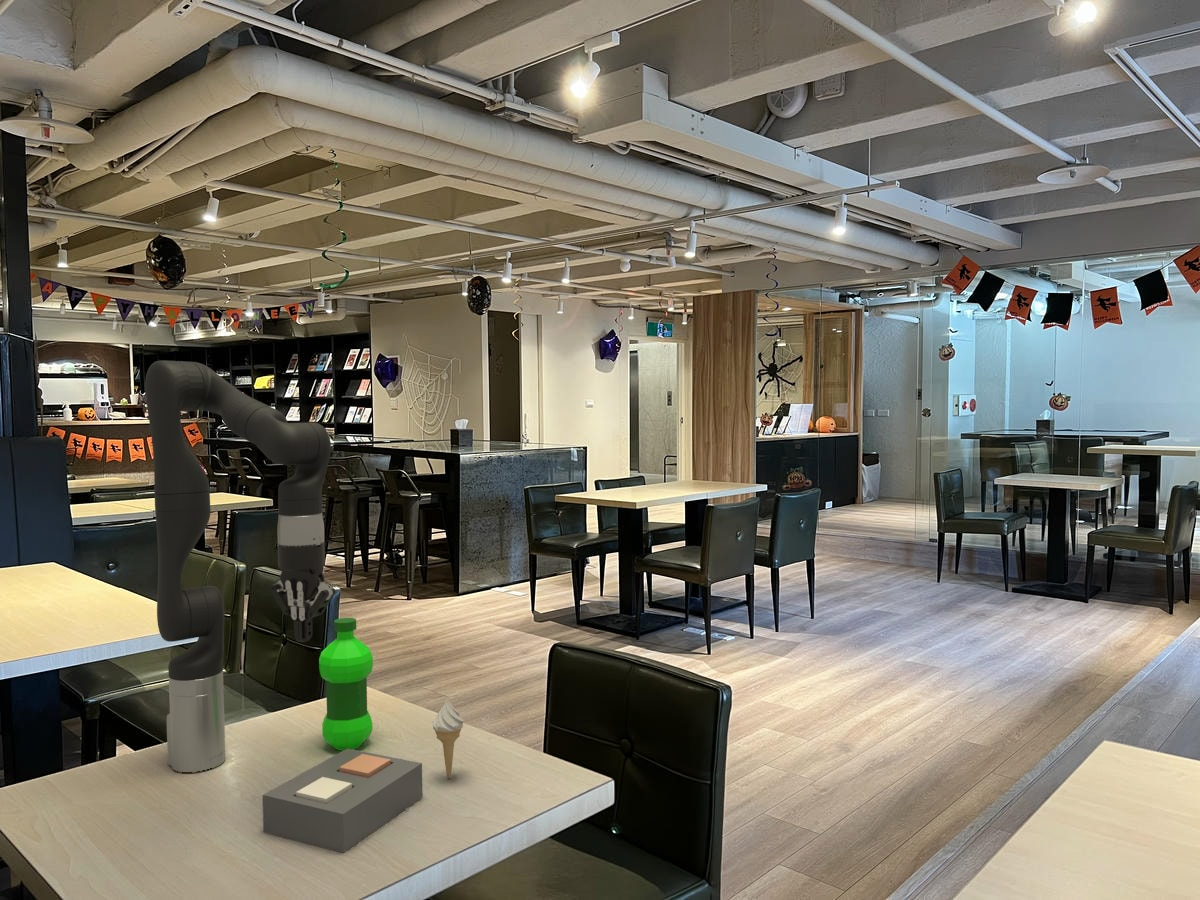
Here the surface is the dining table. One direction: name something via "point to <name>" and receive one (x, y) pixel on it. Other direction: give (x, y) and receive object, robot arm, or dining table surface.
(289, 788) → the block
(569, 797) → the dining table surface
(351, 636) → the plastic bottle
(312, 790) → the white key
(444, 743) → the ice cream cone
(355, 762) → the terracotta key
